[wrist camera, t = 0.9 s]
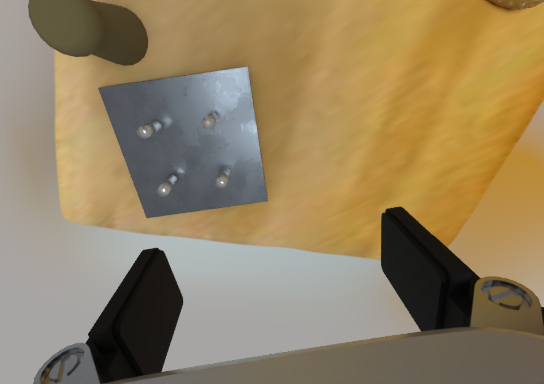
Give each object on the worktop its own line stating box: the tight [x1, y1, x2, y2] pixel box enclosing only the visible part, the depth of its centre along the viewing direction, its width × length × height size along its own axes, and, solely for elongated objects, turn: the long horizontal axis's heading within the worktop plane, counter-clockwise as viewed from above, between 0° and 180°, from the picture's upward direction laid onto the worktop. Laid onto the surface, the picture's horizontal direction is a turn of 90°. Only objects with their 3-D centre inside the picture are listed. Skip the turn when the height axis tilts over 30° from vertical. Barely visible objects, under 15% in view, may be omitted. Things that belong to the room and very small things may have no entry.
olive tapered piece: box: [28, 0, 148, 65], centre depth 26 cm, size 6×6×11 cm
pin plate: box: [98, 67, 268, 218], centre depth 34 cm, size 18×18×5 cm
